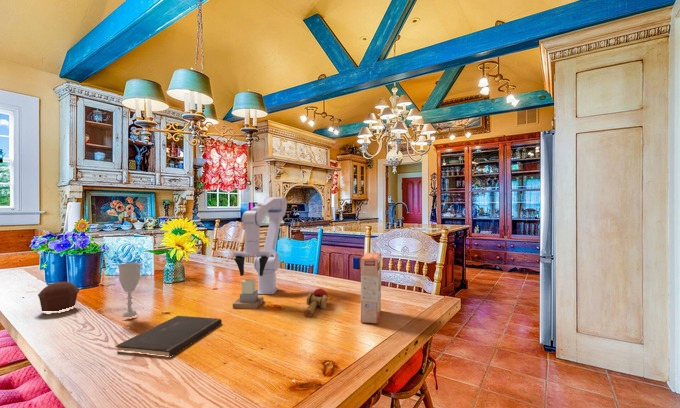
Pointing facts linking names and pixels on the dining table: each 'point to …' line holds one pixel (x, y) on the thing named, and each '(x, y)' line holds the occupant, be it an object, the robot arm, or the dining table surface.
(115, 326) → the dining table surface
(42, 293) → the muffin
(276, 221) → the robot arm
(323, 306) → the kendama
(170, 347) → the hardcover book
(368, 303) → the cracker box
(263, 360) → the dining table surface
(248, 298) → the slate cube
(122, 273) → the chalice
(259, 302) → the walnut slab
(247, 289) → the sage block
